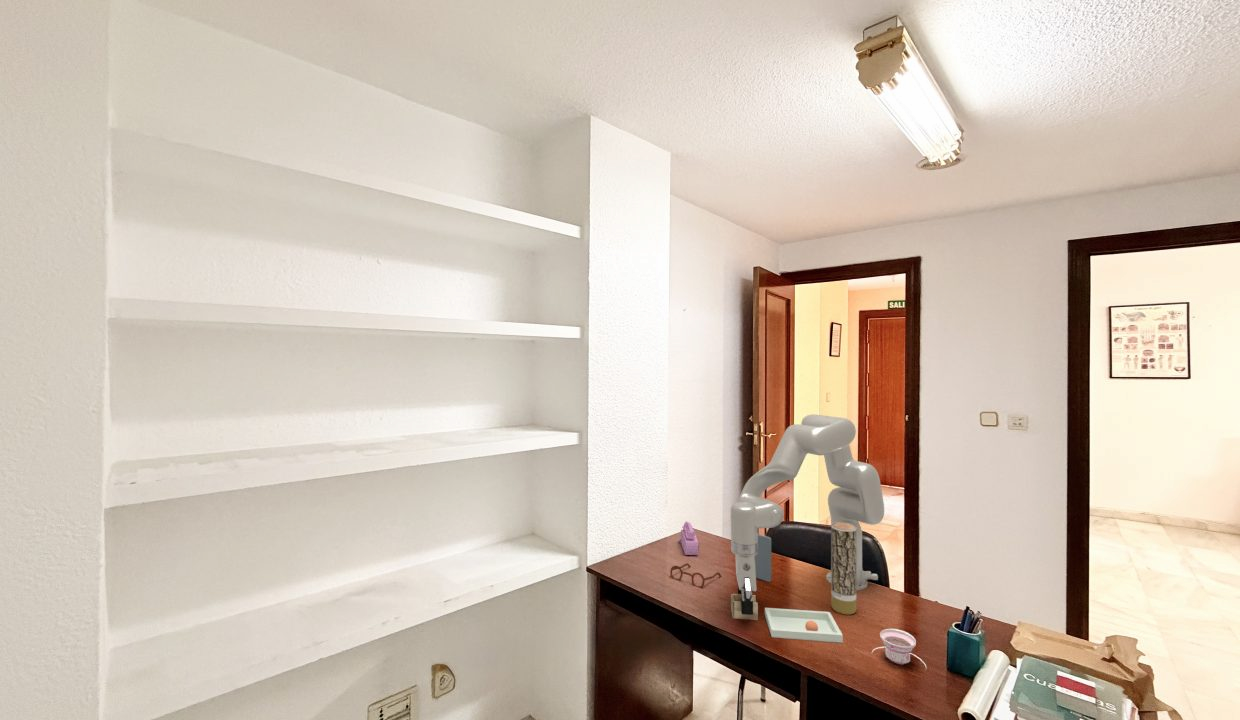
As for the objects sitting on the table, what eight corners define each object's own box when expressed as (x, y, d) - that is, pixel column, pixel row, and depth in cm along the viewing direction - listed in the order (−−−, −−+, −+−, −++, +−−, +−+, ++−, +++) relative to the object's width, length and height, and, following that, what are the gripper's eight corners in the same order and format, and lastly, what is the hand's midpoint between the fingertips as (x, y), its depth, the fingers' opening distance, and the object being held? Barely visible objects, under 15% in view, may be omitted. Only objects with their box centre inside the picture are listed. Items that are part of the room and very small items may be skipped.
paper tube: (845, 617, 142) (845, 531, 142) (826, 607, 149) (826, 524, 149) (861, 612, 146) (861, 527, 146) (841, 602, 152) (841, 520, 152)
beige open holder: (755, 613, 145) (755, 595, 145) (757, 622, 140) (757, 603, 140) (731, 611, 146) (731, 593, 146) (732, 620, 141) (732, 601, 141)
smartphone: (771, 582, 165) (771, 537, 165) (770, 583, 165) (770, 538, 165) (749, 574, 171) (749, 531, 171) (747, 575, 170) (747, 532, 170)
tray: (829, 620, 141) (829, 611, 141) (842, 644, 129) (842, 635, 129) (764, 616, 143) (764, 607, 143) (771, 639, 131) (771, 630, 131)
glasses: (669, 579, 168) (669, 565, 168) (690, 567, 178) (690, 553, 178) (703, 591, 160) (703, 575, 160) (722, 577, 170) (722, 563, 170)
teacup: (882, 643, 130) (882, 619, 130) (934, 664, 121) (934, 639, 121) (862, 661, 122) (862, 636, 122) (916, 685, 113) (916, 658, 113)
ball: (811, 616, 135) (801, 621, 135) (818, 622, 132) (807, 627, 132) (815, 626, 135) (805, 631, 135) (821, 633, 132) (811, 638, 132)
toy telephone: (700, 556, 187) (700, 530, 187) (683, 556, 187) (683, 530, 187) (692, 539, 205) (692, 515, 205) (677, 539, 205) (677, 515, 205)
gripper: (762, 559, 134) (763, 622, 134) (753, 536, 151) (754, 591, 152) (733, 558, 135) (734, 620, 135) (728, 535, 152) (729, 590, 153)
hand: (745, 605), depth 143 cm, fingers open, 9 cm apart
